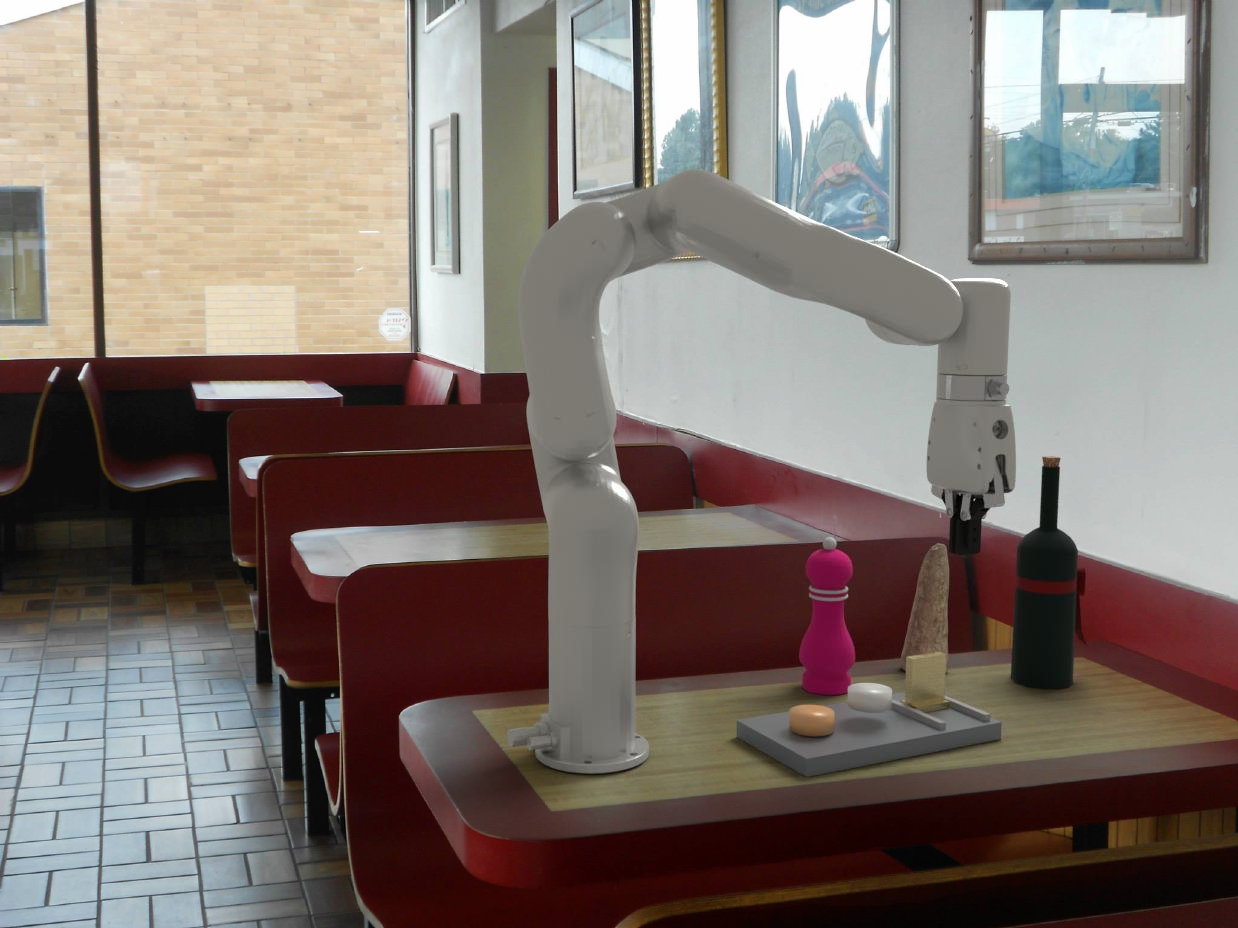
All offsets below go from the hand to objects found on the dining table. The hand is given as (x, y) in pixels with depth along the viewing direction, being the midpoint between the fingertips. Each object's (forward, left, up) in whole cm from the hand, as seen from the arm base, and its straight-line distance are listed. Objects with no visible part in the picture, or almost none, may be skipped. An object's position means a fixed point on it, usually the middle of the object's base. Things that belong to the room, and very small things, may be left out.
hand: (964, 552), depth 142 cm
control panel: (-9, +5, -22) cm, 24 cm away
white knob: (-9, +5, -18) cm, 21 cm away
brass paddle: (0, +6, -20) cm, 21 cm away
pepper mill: (-2, +23, -22) cm, 32 cm away
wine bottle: (+27, +13, -22) cm, 37 cm away
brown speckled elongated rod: (+15, +24, -22) cm, 36 cm away
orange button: (-17, +5, -20) cm, 26 cm away
